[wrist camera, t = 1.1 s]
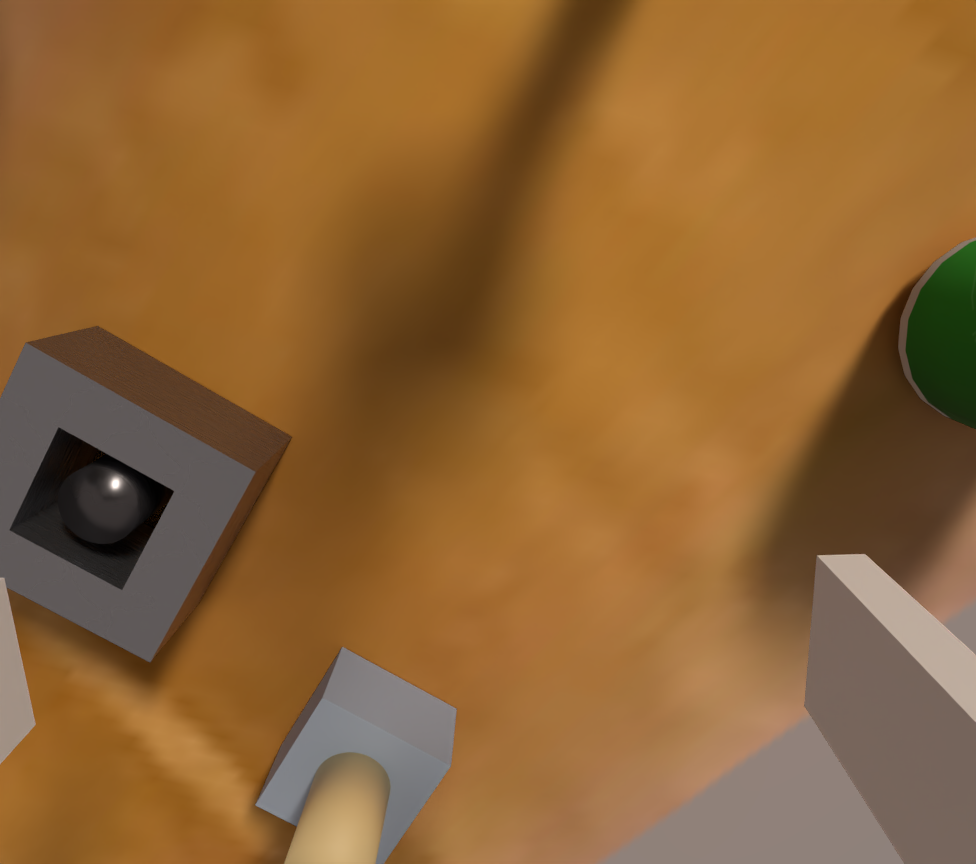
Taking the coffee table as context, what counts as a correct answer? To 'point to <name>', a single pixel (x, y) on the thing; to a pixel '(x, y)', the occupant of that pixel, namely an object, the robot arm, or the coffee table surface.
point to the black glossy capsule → (109, 500)
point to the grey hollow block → (141, 445)
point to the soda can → (943, 335)
